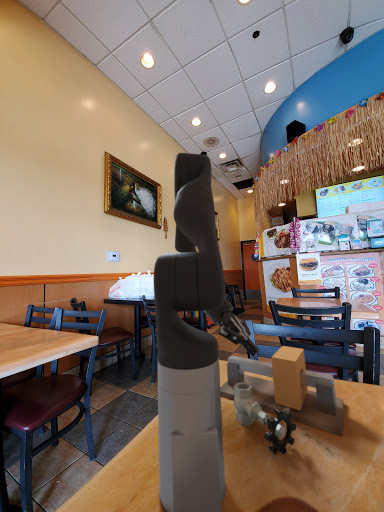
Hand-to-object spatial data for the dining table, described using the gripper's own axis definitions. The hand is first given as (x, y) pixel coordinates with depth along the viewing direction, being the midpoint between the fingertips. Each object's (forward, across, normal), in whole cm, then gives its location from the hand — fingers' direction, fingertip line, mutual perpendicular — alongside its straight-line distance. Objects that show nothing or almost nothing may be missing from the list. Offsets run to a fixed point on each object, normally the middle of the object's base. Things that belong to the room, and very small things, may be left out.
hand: (256, 353), depth 54 cm
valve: (+10, -13, +4) cm, 17 cm away
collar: (+11, 0, 0) cm, 11 cm away
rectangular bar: (+10, 0, +4) cm, 10 cm away
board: (+10, 0, +4) cm, 10 cm away
